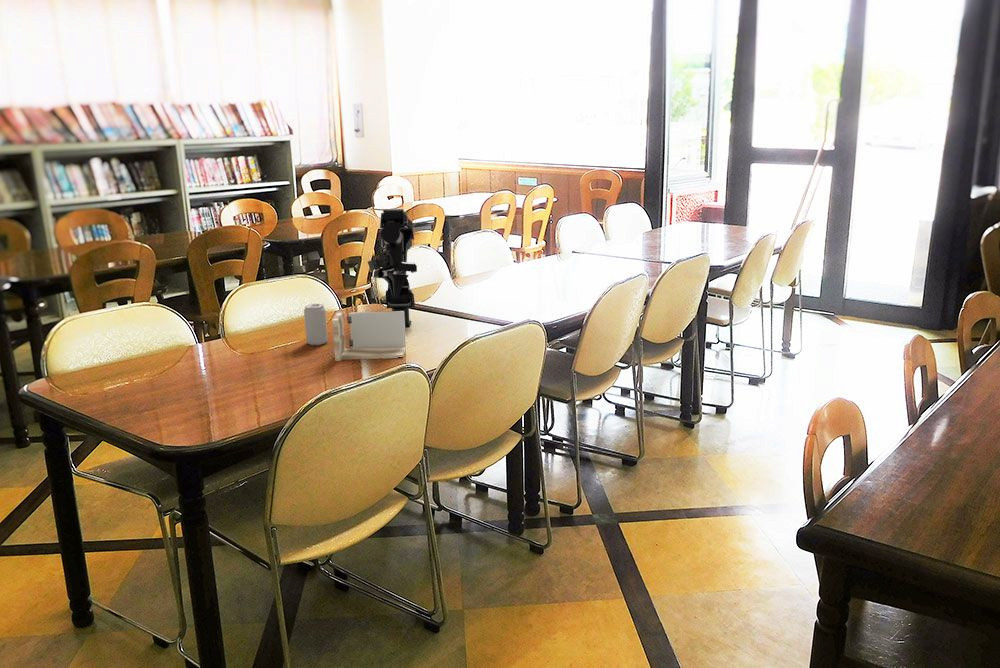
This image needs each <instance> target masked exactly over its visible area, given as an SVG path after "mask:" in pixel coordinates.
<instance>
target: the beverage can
mask: <svg viewBox="0 0 1000 668" xmlns="http://www.w3.org/2000/svg"><path fill="white" fill-rule="evenodd" d="M303 314H304V315H303V316H304V325H305V326H304V327H305V328H304V329H305V336H306V339H305V340H306V343H307V344H309V345H310V346H314V345H316V346H322V344H323V345H325V344H327V342H328V339H329V338H328V337H329V336H328V328H327V327H328V326H327V316H326V315H327V313H326V308H325V305H324V304H323V303H311V304H310V303H309V304H306V305H305V306H304V310H303Z"/></svg>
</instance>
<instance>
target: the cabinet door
mask: <svg viewBox="0 0 1000 668" xmlns="http://www.w3.org/2000/svg"><path fill="white" fill-rule="evenodd" d="M346 320H347V321H346V323H347V324H349V328H350V338H348V347H351V348H388V347H405V349H406V348H407V342H406V327H405V317H404V311H392V310H391V311H356V312H353V311H352V312H349V313H348V315H347V316H346Z"/></svg>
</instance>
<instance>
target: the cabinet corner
mask: <svg viewBox="0 0 1000 668" xmlns="http://www.w3.org/2000/svg"><path fill="white" fill-rule="evenodd" d="M344 319H345V318H344V312H343V311H338V312H337V313H336V314H335V315H334V317H333V318H332V320H331V322H332V323H331V324H332V335H333V336H332V337H333V338H332V339H333V350H334V362H341V361H342V360H366V359H367V360H368V359H369V360H371V359H373V360H374V359H376V360H377V359H379V360H380V358H381V359H399V358H398V357H403V356H404V357H405V354H404V353H405V352H406V348H405V347H388V348H352V347H351V348H346V347H347V345H346V332H345V320H344ZM404 357H403V358H404Z"/></svg>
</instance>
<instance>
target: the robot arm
mask: <svg viewBox="0 0 1000 668" xmlns="http://www.w3.org/2000/svg"><path fill="white" fill-rule="evenodd" d="M379 223H380V224H379V228H380V229H381V232H380V235H381V239H382V240H383V241H384V247H385V248H384V251H382V253H380V254H378V255H376V258H375V259H371V260H368V261H367V265H368V267H369V271H370V272H372V271H373V278H374V279H382V280H385V282H386V283H387V289H386V290H385V301H386V302H385V303H386V309H391V311H404V317H405V328H406V327H409V328H410V327H411V325H412V320H410V309H413V308H415V307H416V305H415V303H416V301H415V295H414V293H413V291H412V290H413V289H411V288H410V287H411V286H410V282H409V280H408V278H409V274H407V272H410V273H411V274H412V273H413V274H415V273H417V272H418V266H417V264H416V263H415V262H408V252H409V250H410V249H411V247H413V240H415V229H414V223H413V222H412V221H411V219H410V218H409V217H408V212H407V211H405V210H404V209H403V208H384V209H383V210H382V212H381V213H380V222H379Z"/></svg>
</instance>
